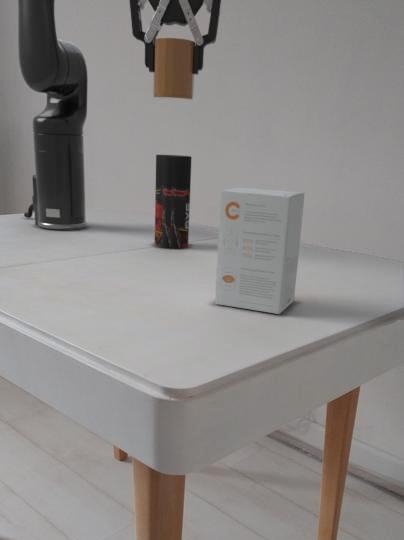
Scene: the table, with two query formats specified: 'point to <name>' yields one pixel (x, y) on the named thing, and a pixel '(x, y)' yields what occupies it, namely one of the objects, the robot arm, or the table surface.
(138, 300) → the table surface
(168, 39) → the cup
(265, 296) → the small box
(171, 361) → the table surface
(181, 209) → the deodorant
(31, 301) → the table surface
